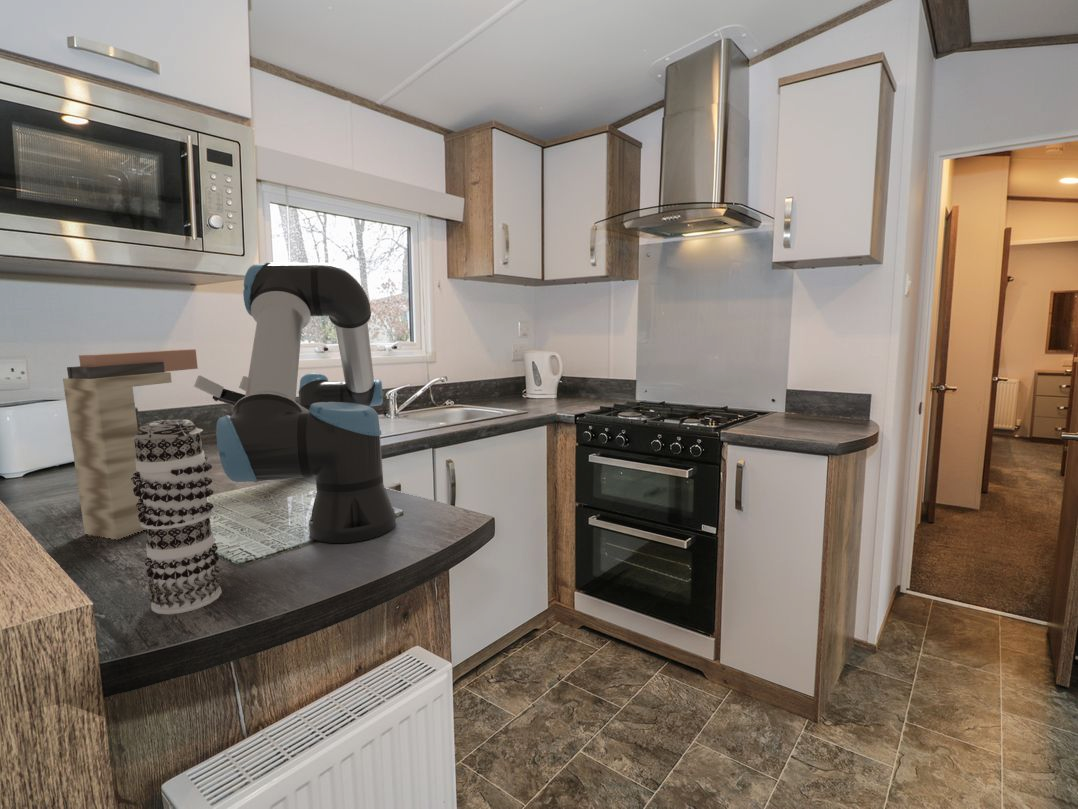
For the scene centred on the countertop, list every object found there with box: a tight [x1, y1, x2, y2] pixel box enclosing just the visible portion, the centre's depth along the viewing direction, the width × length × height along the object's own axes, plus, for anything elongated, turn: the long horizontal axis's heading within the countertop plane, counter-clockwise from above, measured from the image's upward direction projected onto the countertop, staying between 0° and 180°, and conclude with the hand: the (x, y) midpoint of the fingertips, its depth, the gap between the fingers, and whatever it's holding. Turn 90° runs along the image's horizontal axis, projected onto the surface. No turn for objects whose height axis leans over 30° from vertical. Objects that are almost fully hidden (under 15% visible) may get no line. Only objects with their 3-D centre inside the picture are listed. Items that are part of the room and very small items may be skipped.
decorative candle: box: [131, 418, 223, 615], centre depth 78 cm, size 9×9×25 cm
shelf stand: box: [62, 362, 173, 541], centre depth 108 cm, size 9×14×31 cm, turn 159°
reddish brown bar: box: [78, 348, 199, 372], centre depth 111 cm, size 4×20×4 cm, turn 161°
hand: (219, 381), depth 126 cm, fingers open, 13 cm apart
